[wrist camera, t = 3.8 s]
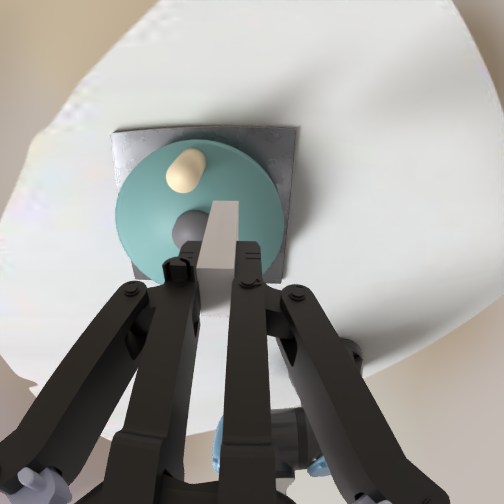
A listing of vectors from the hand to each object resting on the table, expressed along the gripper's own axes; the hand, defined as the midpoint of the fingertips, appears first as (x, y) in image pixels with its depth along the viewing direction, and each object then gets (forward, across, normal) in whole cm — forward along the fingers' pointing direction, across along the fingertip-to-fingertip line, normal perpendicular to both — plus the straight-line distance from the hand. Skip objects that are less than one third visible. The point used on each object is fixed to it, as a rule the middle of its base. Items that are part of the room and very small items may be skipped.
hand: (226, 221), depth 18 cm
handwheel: (+16, +5, +8) cm, 18 cm away
